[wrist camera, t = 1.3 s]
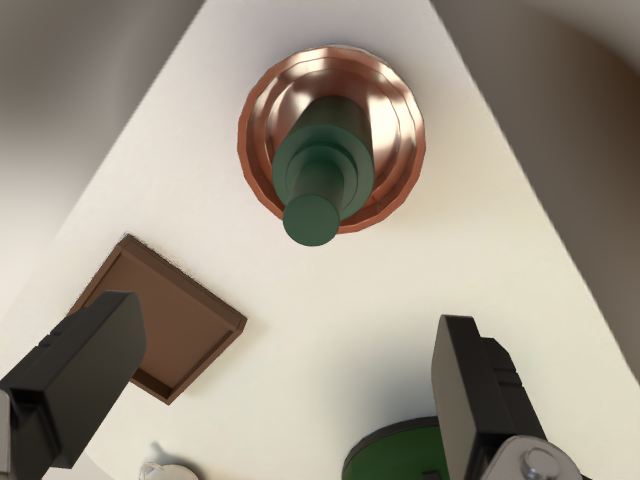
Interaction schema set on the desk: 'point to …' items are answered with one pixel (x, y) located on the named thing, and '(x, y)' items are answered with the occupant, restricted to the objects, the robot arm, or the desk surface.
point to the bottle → (324, 169)
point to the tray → (167, 318)
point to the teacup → (166, 472)
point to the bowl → (342, 80)
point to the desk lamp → (400, 453)
